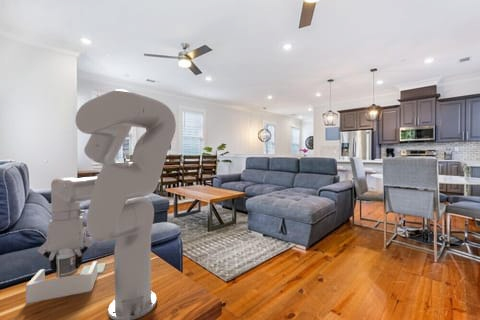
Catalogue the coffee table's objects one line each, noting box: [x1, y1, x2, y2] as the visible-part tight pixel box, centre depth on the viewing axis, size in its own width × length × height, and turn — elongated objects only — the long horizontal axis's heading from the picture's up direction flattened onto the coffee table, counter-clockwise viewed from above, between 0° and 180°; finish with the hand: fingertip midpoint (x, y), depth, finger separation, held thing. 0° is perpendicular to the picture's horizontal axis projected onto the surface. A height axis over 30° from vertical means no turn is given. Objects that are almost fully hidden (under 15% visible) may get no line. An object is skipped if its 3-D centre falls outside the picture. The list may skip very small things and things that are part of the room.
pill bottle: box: [55, 248, 79, 278], centre depth 77 cm, size 6×6×10 cm
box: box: [25, 260, 98, 304], centre depth 75 cm, size 10×16×6 cm, turn 113°
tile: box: [79, 262, 107, 275], centre depth 87 cm, size 8×8×1 cm
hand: (67, 268), depth 77 cm, fingers closed on pill bottle, 5 cm apart
